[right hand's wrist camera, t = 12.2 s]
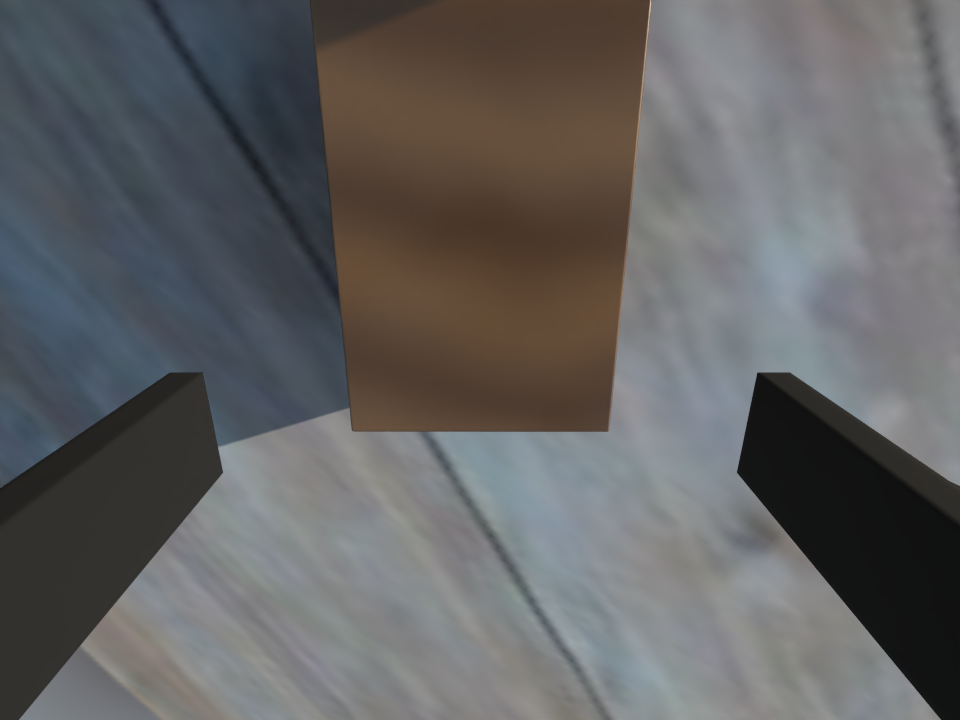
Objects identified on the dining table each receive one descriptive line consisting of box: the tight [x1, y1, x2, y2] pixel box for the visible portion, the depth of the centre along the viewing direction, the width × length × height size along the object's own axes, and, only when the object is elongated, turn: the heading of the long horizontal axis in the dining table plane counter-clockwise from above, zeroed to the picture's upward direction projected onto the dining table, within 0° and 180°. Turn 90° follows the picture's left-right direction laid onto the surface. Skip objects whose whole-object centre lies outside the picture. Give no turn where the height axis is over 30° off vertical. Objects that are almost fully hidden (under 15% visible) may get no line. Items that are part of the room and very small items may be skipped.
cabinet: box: [310, 0, 652, 432], centre depth 23 cm, size 17×10×11 cm, turn 0°
